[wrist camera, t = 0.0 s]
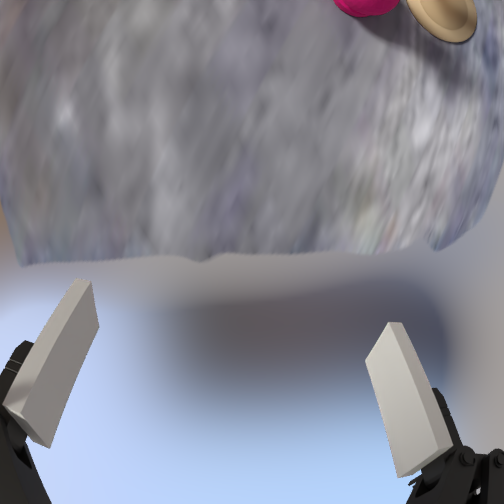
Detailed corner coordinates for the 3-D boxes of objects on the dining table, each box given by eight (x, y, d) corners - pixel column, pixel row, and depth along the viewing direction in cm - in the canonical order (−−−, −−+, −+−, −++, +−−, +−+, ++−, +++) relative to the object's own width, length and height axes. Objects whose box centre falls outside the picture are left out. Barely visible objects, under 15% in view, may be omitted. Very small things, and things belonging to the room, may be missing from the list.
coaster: (407, -49, 20) (409, -50, 20) (476, -9, 22) (479, -9, 21) (398, 18, 26) (400, 18, 26) (469, 56, 28) (472, 56, 27)
